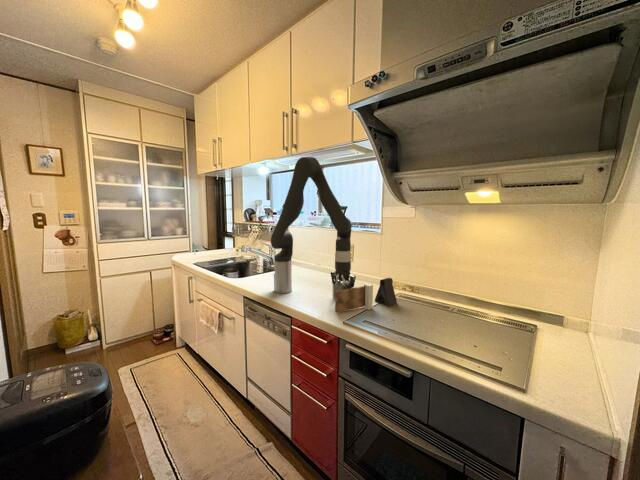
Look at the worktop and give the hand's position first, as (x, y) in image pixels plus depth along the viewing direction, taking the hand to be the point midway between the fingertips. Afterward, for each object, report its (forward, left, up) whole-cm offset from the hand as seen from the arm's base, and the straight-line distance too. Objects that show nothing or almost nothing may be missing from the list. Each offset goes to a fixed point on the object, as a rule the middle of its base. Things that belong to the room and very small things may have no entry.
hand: (342, 294), depth 123 cm
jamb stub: (-8, +4, -5) cm, 10 cm away
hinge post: (+12, +4, -5) cm, 14 cm away
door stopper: (+14, +16, -5) cm, 22 cm away
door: (+8, -3, -4) cm, 10 cm away
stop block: (0, 0, -1) cm, 1 cm away
